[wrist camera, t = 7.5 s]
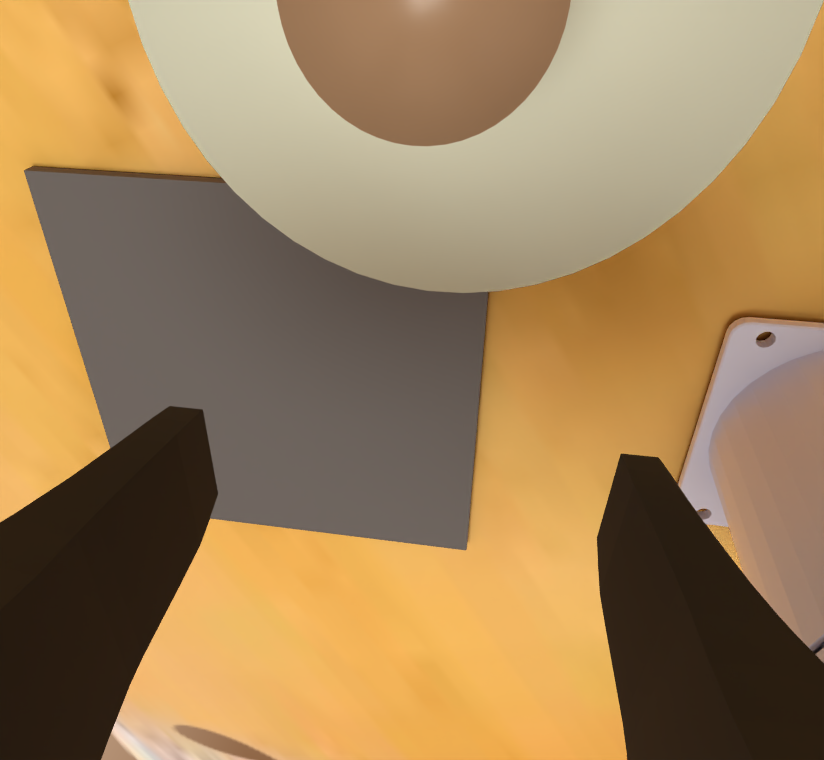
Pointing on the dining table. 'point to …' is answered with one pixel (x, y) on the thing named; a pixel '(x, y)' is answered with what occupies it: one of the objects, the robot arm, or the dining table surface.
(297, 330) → the mat
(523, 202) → the lid
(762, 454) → the robot arm
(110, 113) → the dining table surface
